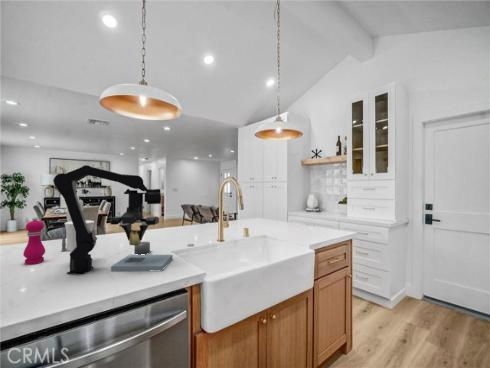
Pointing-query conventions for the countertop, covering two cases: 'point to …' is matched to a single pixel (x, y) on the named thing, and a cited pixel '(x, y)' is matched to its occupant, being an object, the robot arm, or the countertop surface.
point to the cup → (72, 233)
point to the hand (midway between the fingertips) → (135, 240)
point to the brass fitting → (134, 237)
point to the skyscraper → (64, 230)
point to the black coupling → (142, 248)
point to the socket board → (142, 263)
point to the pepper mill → (34, 243)
